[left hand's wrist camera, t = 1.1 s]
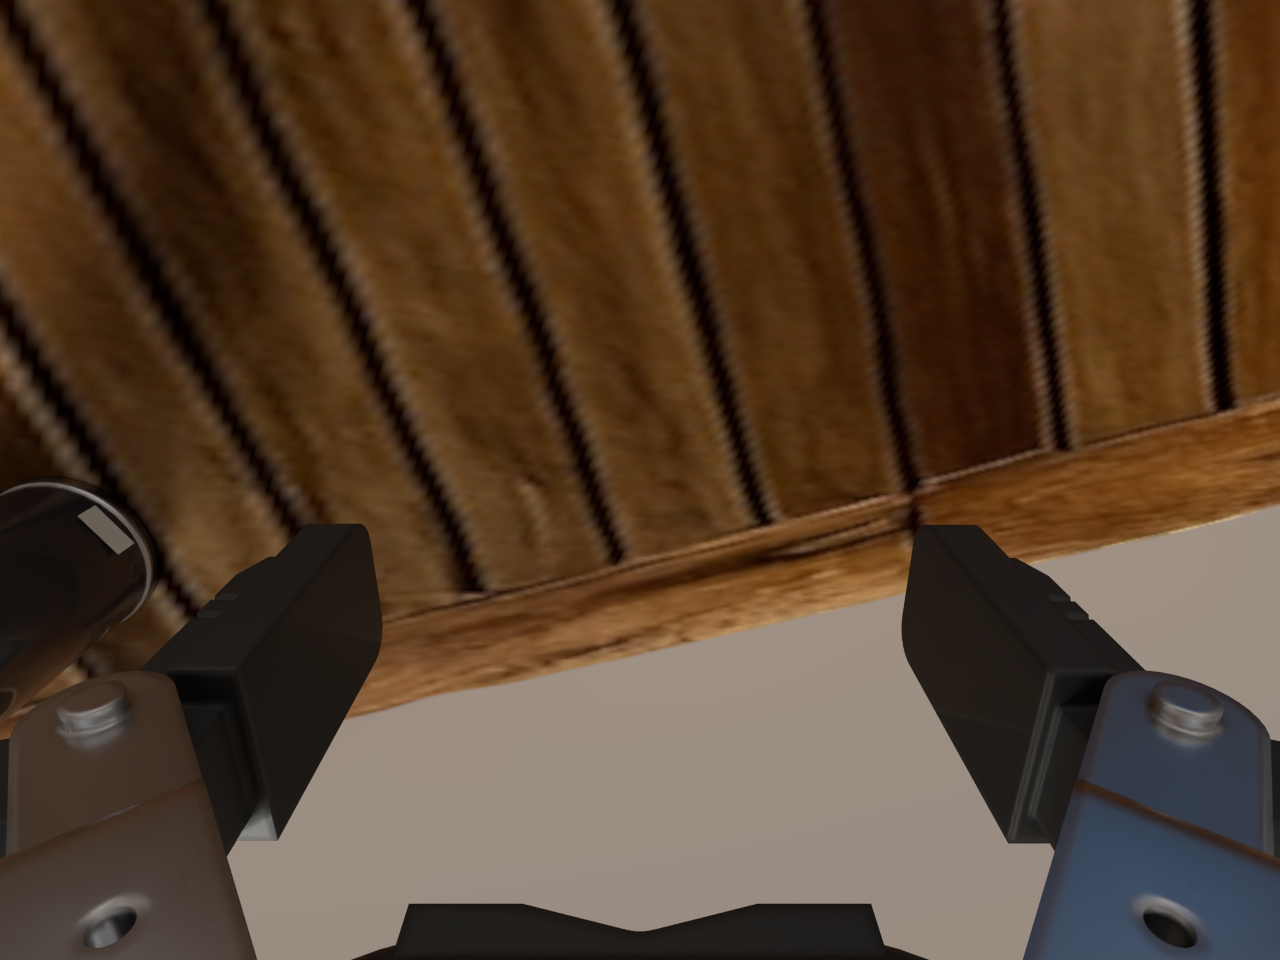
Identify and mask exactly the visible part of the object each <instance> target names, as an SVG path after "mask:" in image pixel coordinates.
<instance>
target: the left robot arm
mask: <svg viewBox="0 0 1280 960" xmlns="http://www.w3.org/2000/svg"><path fill="white" fill-rule="evenodd" d="M157 578H158V561H157V555H156V551H155V548H154V546H153V543H152V541H151V539H150V536H149V535H148V533H147V531H146V530H145V528H144V527H143V525H142V524H141V523H140V521H139V520H138V519H137V518H136V517H135V515H134V514H133V513H132V512H131V511H130V510H129V509H127V508H126V507H125V506H124V505H123V504H122V503H120V502H119V501H118V500H116V499H115V498H113V497H112V496H110V495H109V494H107V493H105V492H103V491H102V490H100V489H98V488H95V487H93V486H91V485H88V484H85V483H82V482H79V481H75V480H70V479H65V478H39V479H33V480H30V481H26V482H24V483H21V484H19V485H17V486H15V487H13V488H11V489H9V490H7V491H5V492H3V493H1V494H0V725H1V724H2V723H3V722H4V721H6V720H7V719H8V718H9V717H10V716H11V715H13V714H14V713H15V712H16V711H17V710H18V709H20V708H21V707H22V706H23V705H24V704H25V703H27V702H28V701H29V700H30V699H31V698H32V697H34V696H35V695H36V694H37V693H38V692H39V691H41V690H42V689H43V688H44V687H45V686H46V685H48V684H49V683H50V682H51V681H52V680H53V679H55V678H56V677H57V676H58V675H59V674H60V673H62V672H63V671H64V670H65V669H66V668H68V667H69V666H70V665H71V664H72V663H73V662H75V661H76V660H77V659H78V658H79V657H80V656H82V655H83V654H84V653H85V652H86V651H87V650H89V649H90V648H91V647H92V646H93V645H95V644H96V643H97V642H98V641H99V640H100V639H102V638H103V637H104V636H105V635H106V634H107V633H109V632H110V631H111V630H112V629H113V628H114V627H116V626H117V625H118V624H119V623H121V622H123V621H124V620H126V619H127V618H129V617H130V616H131V615H132V614H134V613H135V612H136V611H137V610H138V609H139V608H141V607H142V606H143V605H144V604H145V603H146V602H147V600H148V599H149V598H150V596H151V595H152V593H153V591H154V588H155V586H156V582H157ZM381 640H382V614H381V608H380V601H379V594H378V588H377V581H376V574H375V568H374V561H373V554H372V548H371V542H370V537H369V534H368V531H367V529H366V528H365V526H364V525H362V524H308V525H306V526H305V527H304V528H303V529H302V530H301V531H300V532H299V533H298V534H297V535H296V536H295V537H294V538H293V539H292V540H291V541H290V542H289V543H288V544H287V545H286V546H285V547H284V548H283V549H282V550H281V551H280V553H279V554H278V555H277V556H276V557H268V558H266V559H264V560H262V561H261V562H259V563H257V564H255V565H253V566H251V567H250V568H248V569H246V570H244V571H242V572H240V573H239V574H237V575H236V576H235V577H234V578H233V579H231V580H230V581H229V582H228V583H227V584H226V585H225V586H224V587H223V588H222V589H221V590H220V591H219V592H218V593H217V594H216V595H215V600H210V601H209V602H208V603H207V604H206V605H205V606H204V607H203V608H202V609H201V610H200V611H199V612H198V613H197V618H192V619H191V620H190V621H189V622H188V623H187V624H186V625H185V626H184V627H183V628H182V629H181V630H180V631H179V632H178V633H177V634H176V635H175V636H174V637H173V638H172V639H171V640H170V641H169V642H167V643H166V644H165V645H164V646H163V647H162V648H161V649H160V650H159V651H158V652H157V653H156V654H155V655H154V656H153V657H152V658H151V659H150V660H149V661H148V662H147V663H146V664H145V665H144V666H143V667H142V668H141V669H140V670H139V671H126V672H118V673H113V674H108V675H104V676H100V677H96V678H93V679H90V680H87V681H84V682H81V683H78V684H76V685H74V686H71V687H69V688H67V689H64V690H62V691H60V692H58V693H57V694H55V695H53V696H51V697H49V698H48V699H46V700H44V701H43V702H41V703H40V704H38V705H37V706H36V707H34V708H33V709H32V710H30V711H29V712H28V713H27V714H26V715H25V716H24V717H23V718H22V719H21V720H20V721H19V722H18V724H17V725H16V726H15V728H14V729H13V731H12V733H11V736H10V738H9V739H4V740H0V960H257V958H256V954H255V951H254V947H253V944H252V941H251V937H250V934H249V931H248V927H247V924H246V920H245V917H244V914H243V910H242V907H241V903H240V900H239V897H238V893H237V890H236V887H235V883H234V880H233V876H232V873H231V870H230V866H229V863H228V860H227V855H228V854H229V852H230V851H231V849H232V847H233V846H234V844H235V842H236V841H277V840H278V839H279V837H280V835H281V834H282V832H283V830H284V828H285V826H286V824H287V823H288V821H289V819H290V817H291V815H292V813H293V811H294V810H295V808H296V806H297V804H298V802H299V801H300V799H301V797H302V795H303V793H304V791H305V789H306V788H307V786H308V784H309V782H310V780H311V779H312V777H313V775H314V773H315V771H316V769H317V768H318V766H319V764H320V762H321V760H322V758H323V757H324V755H325V753H326V751H327V749H328V747H329V746H330V744H331V742H332V740H333V738H334V736H335V735H336V733H337V731H338V729H339V727H340V726H341V724H342V722H343V720H344V718H345V716H346V715H347V713H348V711H349V709H350V707H351V705H352V704H353V702H354V700H355V698H356V696H357V694H358V693H359V691H360V689H361V687H362V685H363V683H364V682H365V680H366V678H367V676H368V674H369V672H370V671H371V669H372V667H373V665H374V663H375V661H376V659H377V657H378V654H379V650H380V646H381ZM902 641H903V647H904V652H905V655H906V658H907V661H908V663H909V665H910V666H911V668H912V670H913V672H914V674H915V676H916V677H917V679H918V681H919V683H920V685H921V686H922V688H923V690H924V692H925V694H926V695H927V697H928V699H929V701H930V702H931V704H932V706H933V708H934V710H935V712H936V713H937V715H938V717H939V719H940V721H941V722H942V724H943V726H944V728H945V730H946V732H947V733H948V735H949V737H950V739H951V741H952V742H953V744H954V746H955V748H956V750H957V751H958V753H959V755H960V757H961V759H962V760H963V762H964V764H965V766H966V768H967V769H968V771H969V773H970V775H971V777H972V779H973V780H974V782H975V784H976V786H977V787H978V789H979V791H980V793H981V795H982V797H983V798H984V800H985V802H986V804H987V806H988V807H989V809H990V811H991V813H992V815H993V817H994V818H995V820H996V822H997V824H998V826H999V827H1000V829H1001V831H1002V833H1003V835H1004V836H1005V838H1006V840H1007V842H1008V843H1050V844H1051V846H1052V848H1053V849H1054V851H1055V853H1054V856H1053V860H1052V863H1051V866H1050V870H1049V873H1048V876H1047V880H1046V883H1045V887H1044V890H1043V893H1042V897H1041V900H1040V903H1039V907H1038V910H1037V914H1036V917H1035V920H1034V924H1033V927H1032V931H1031V934H1030V937H1029V941H1028V944H1027V947H1026V951H1025V954H1024V958H1023V960H1280V741H1276V740H1271V739H1270V736H1269V733H1268V731H1267V730H1266V728H1265V726H1264V725H1263V724H1262V722H1261V721H1260V720H1259V719H1258V718H1257V717H1256V716H1255V715H1254V714H1253V713H1252V712H1251V711H1250V710H1248V709H1247V708H1246V707H1244V706H1243V705H1242V704H1240V703H1239V702H1237V701H1236V700H1234V699H1232V698H1231V697H1229V696H1227V695H1225V694H1223V693H1222V692H1220V691H1218V690H1216V689H1213V688H1211V687H1209V686H1206V685H1204V684H1202V683H1199V682H1196V681H1193V680H1190V679H1187V678H1184V677H1180V676H1176V675H1172V674H1167V673H1162V672H1154V671H1145V670H1144V669H1143V668H1142V667H1141V666H1140V665H1139V664H1138V663H1137V662H1136V661H1135V660H1134V659H1133V658H1132V657H1131V656H1130V655H1129V654H1128V653H1127V652H1126V651H1125V650H1124V649H1123V648H1122V647H1121V646H1120V645H1119V644H1118V643H1117V642H1116V641H1115V640H1114V639H1113V638H1112V637H1111V636H1110V635H1109V634H1108V633H1106V631H1104V630H1103V629H1102V628H1101V627H1100V626H1099V625H1098V624H1097V623H1096V622H1095V621H1094V620H1089V615H1088V614H1087V613H1086V612H1085V611H1084V610H1083V609H1082V608H1081V607H1080V606H1079V605H1078V604H1077V603H1076V602H1071V601H1070V596H1069V595H1068V594H1067V593H1066V592H1064V591H1063V590H1062V589H1061V588H1060V587H1059V586H1058V585H1057V584H1056V583H1055V582H1054V581H1053V580H1052V579H1051V578H1050V577H1049V576H1048V575H1046V574H1044V573H1042V572H1040V571H1038V570H1037V569H1035V568H1033V567H1031V566H1029V565H1027V564H1026V563H1024V562H1022V561H1020V560H1018V559H1016V558H1009V557H1008V556H1007V555H1006V554H1005V553H1004V552H1003V551H1002V550H1001V549H1000V548H999V547H998V546H997V545H996V543H995V542H994V541H993V540H992V539H991V538H990V537H989V536H988V535H987V534H986V533H985V532H984V531H983V530H982V529H981V528H980V527H979V526H976V525H922V526H921V527H920V528H919V529H918V531H917V533H916V535H915V539H914V544H913V550H912V556H911V563H910V570H909V576H908V583H907V589H906V596H905V603H904V609H903V615H902ZM352 960H928V959H925V958H922V957H920V956H917V955H914V954H911V953H908V952H906V951H903V950H900V949H897V948H893V947H889V946H885V945H884V943H883V940H882V937H881V934H880V931H879V927H878V924H877V921H876V918H875V915H874V912H873V909H872V905H871V904H755V905H751V906H747V907H743V908H739V909H735V910H731V911H727V912H723V913H719V914H715V915H711V916H707V917H703V918H699V919H695V920H691V921H687V922H683V923H679V924H675V925H671V926H667V927H663V928H659V929H655V930H650V931H630V930H625V929H621V928H617V927H613V926H609V925H605V924H601V923H597V922H593V921H589V920H585V919H581V918H577V917H573V916H569V915H565V914H561V913H557V912H553V911H549V910H545V909H541V908H537V907H533V906H529V905H525V904H409V905H408V909H407V912H406V915H405V918H404V921H403V924H402V927H401V931H400V934H399V937H398V940H397V943H396V945H395V946H391V947H387V948H383V949H380V950H377V951H374V952H372V953H369V954H366V955H363V956H361V957H358V958H355V959H352Z"/></svg>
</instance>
